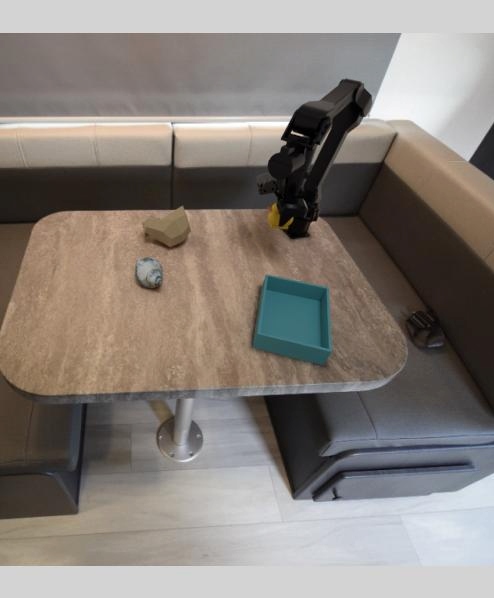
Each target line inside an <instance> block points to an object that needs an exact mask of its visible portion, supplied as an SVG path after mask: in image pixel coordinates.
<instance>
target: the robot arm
mask: <svg viewBox="0 0 494 598" xmlns="http://www.w3.org/2000/svg"><path fill="white" fill-rule="evenodd" d="M372 106H373V95H372V94H371V93H370V92H369V91H368V90H367V89H366V88H365V84H364V82H362V81H361V80H358V79H352V78H347V77H346V78H341V79H340V81H339V82H338V84H337V85H336V86H335V87H334V88H332V90H330V91H329V92H328V93H326V94H325V95H324V96H323V97H321V98H320V99H319V100H310V101H307V102H305V103H303V104H301V105H300V106H299V107H298V108H297V109H296V110H294V112H293V114H292V116H291V118H290V120H289V121H288V124H287V125H286V127H285V129H284V131H283V133H282V135H281V137H280V141H282V142H286V143H285V144H284V145H282V146H281V147H280V149H279V150H278V151H277V152H275V153H273V154H272V155H271V156H270V158H269V159H268V161H267V170H268V171H267V172H265V173H260V174H258V175H256V184H257V191H258V195H260V196H263V195H269V194H274V195H275V197H276V198H277V199H276V202H275V203H276V205H277V209H278V212H279V215H280V216H279V225H278V226H279V227H283V226H284V225H285V224H286V223H287V222H288V221H289V220H290V219H291V218H293V221H292V223H291V224H290V225H288V229H282V230H283V231H284V232H285V234H286V235H287V236H288V237H289V238H290V239H292V240H293V239H301V238H306V237H307V238H308V237H310V236H311V233H310V232H308V231H309V229H310V226H311V224H312V223H313V222H314V223H315V222H317V221H318V219H319V217H320V213H321V212H322V209H321V204H320V202H321V200H322V198H323V197H322V186H323V184H324V182H325V180H326V177H327V176H328V174H329V172H330V170H331V168H332V166H333V164H334V163H335V160H336V158H337V156H338V154H339V152H340V150H341V148H342V147H343V145H344V143H345V141H346V138H347V137H348V135H349V134H350V133H351V132H352V131H353V130H354V129H356V128H357V127H358V126H360V125H361V124H362V122H363V119H364V118H366V117H367V116H368V114H369V112H370V111H371V108H372ZM322 143H323V144H322ZM321 145H322V146H321ZM318 146H321V148H320V149H319V152H318V154H317V156H316V158H315V160H314V162H313V159H314V156H315V154H316V152H317V148H318ZM312 163H313V164H312Z"/></svg>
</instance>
